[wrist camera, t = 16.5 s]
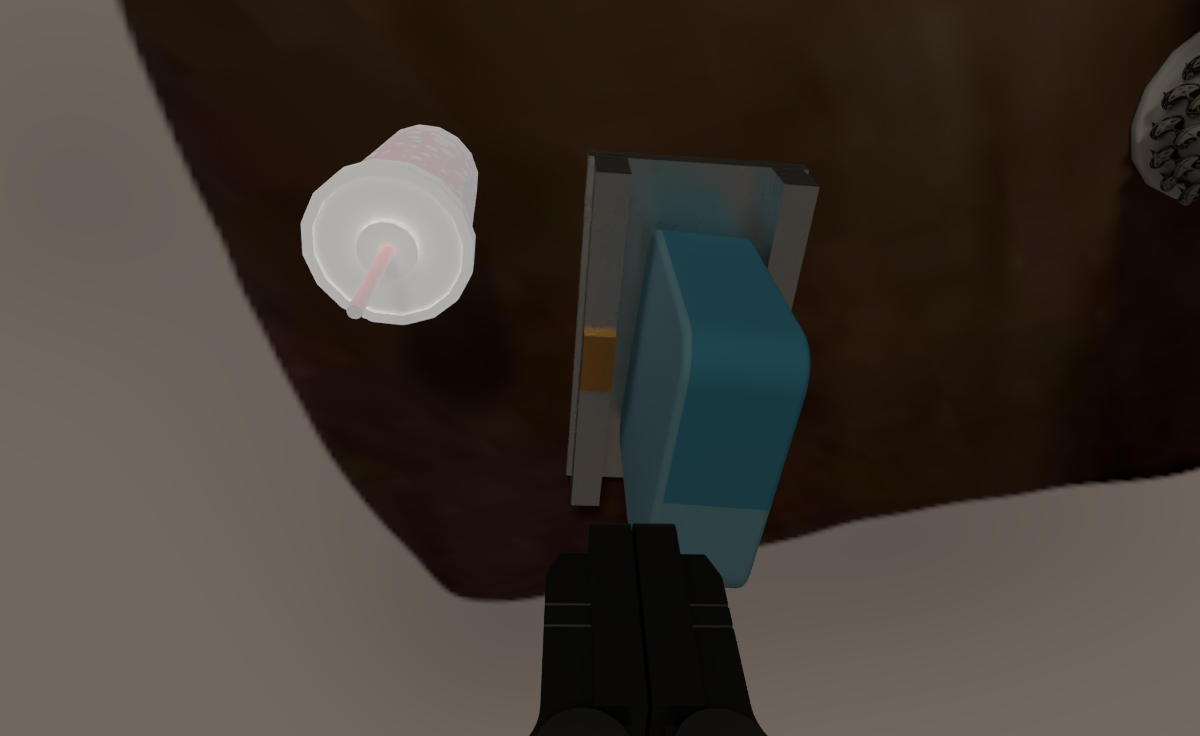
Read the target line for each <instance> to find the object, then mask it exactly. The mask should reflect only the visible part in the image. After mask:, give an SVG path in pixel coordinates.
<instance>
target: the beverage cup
mask: <svg viewBox="0 0 1200 736" xmlns="http://www.w3.org/2000/svg"><path fill="white" fill-rule="evenodd" d="M477 179H478V171H477V169H476V166H475V163H474V160H473V157H472V154H471V153H470V151H469V150H468V149H467V148H466V147H465V145H464V144H463V143H462V142H461V141H460V140H459V138H458V137H456V136H454V135H452V134H450V133H449V132H447V131H445V130H443V129H441V128H440V127H433V126H425V125H416V126H412V127H409V128H405V129H402V130H399V131H398V132H397V133H396V134H394V135H393V136H392V137H391V138H390V139H388V140H387V141H386V142H385V143H384V144H382V145H381V146H380V147H379V148H378V149H376V150H375V151H374V152H373V153H372V154H370V155H369V156H368V157H367V158H366V159H364V160H363V161H362V162H360V163H357V164H353V165H349V166H346V167H343V168H342V169H341V170H339V171H338V172H337V173H336V174H335V175H334V176H332V177H331V178H330V179H329V180H328V181H327V182H325V183H324V184H323V185H322V186H321V187H320V188H318V189H317V190H316V191H315V192H314V193H313V194H312V197H311V199H310V202H309V204H308V207H307V209H306V211H305V214H304V216H303V219H302V221H301V235H302V252H303V256H304V258H305V260H306V263H307V265H308V267H309V269H310V271H311V273H312V275H313V277H314V279H315V281H316V283H317V285H318V286H320V287H321V288H322V289H323V290H324V291H325V292H326V293H327V294H328V295H329V296H330V297H331V298H332V299H333V300H334V301H335V302H336V303H337V304H338V305H339V306H341V307H342V308H344V309H346V310H347V314H348V316H349V317H350V318H353V319H358V318H360V317H363V318H365V319H367V320H370V321H372V322H379V323H389V324H398V325H407V324H411V323H415V322H419V321H423V320H427V319H431V318H435V317H436V316H437V315H439V314H440V313H441V312H443V311H444V310H445V309H447V308H448V307H449V306H451V305H452V304H453V303H455V302H456V301H457V300H458V299H459V297H460V296H461V294H462V292H463V290H464V288H465V286H466V285H467V283H468V281H469V279H470V277H471V275H472V273H473V266H474V252H475V236H476V235H475V233H474V230H473V227H472V224H473V216H474V209H475V201H476V193H477Z"/></svg>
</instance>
